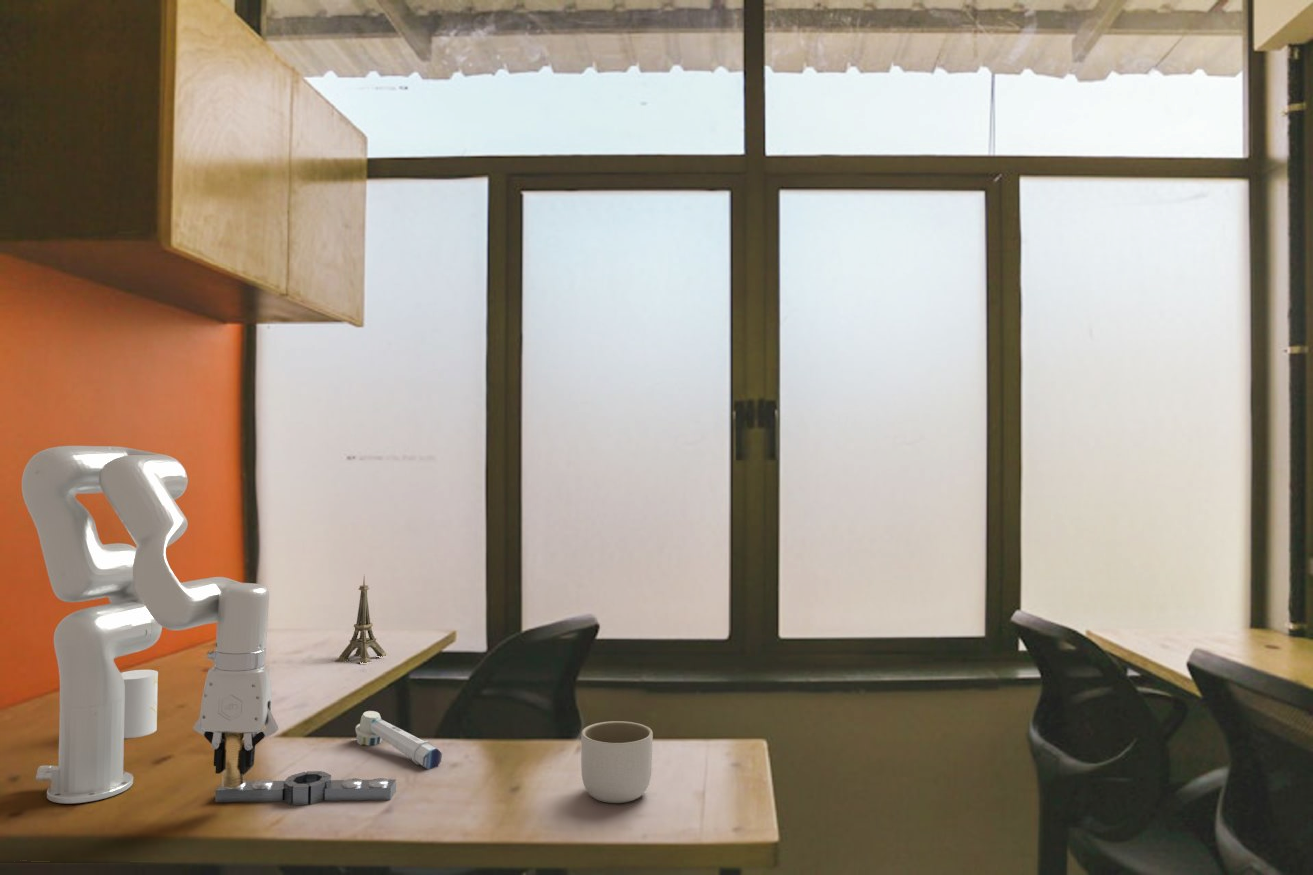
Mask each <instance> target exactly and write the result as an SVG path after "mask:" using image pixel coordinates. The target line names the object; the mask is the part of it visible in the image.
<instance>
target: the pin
mask: <svg viewBox="0 0 1313 875" xmlns="http://www.w3.org/2000/svg"><path fill="white" fill-rule="evenodd" d="M243 749H244V733H227V732H225V743H224V759H223V771H222V775H221V776H222V778H221V779H222V780H221V785H222V786H223V787H227V788H232V787H238V786H240V785H242V784H243V781H244V779H245V774H240V757H241V751H242V750H243Z"/></svg>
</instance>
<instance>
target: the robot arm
mask: <svg viewBox="0 0 1313 875" xmlns="http://www.w3.org/2000/svg"><path fill="white" fill-rule="evenodd" d="M187 474H188V473H187V471H186V469H185V467H184V466H183V465H182V463H181V462H180V461H179V460H177V459H176V458H175V457H172V456H170V455H167V454H161V453H157V452H151V451H145V450H141V449H137V448H136V449H135V448H131V447H124V446H111V445H108V446H107V445H106V446H103V445H102V446H101V445H98V446H97V445H94V446H93V445H64V446H63V445H61V446H54V447H49V448H46V449H43V450H41V451H39V452H37V453H35V454H34V455H32V456H31V458H30V459H29V460H28V462H27V464H26V466H25V467H24V470H23V473H22V477H21V493H22V496H23V501H24V504H25V506H26V509H27V511H28V513H29V514H30V517H31V520H32V522H33V523H34V526H35V529H36V531H37V535H38V538H39V542H40V548H41V552H42V556H43V560H44V563H45V567H46V570H47V575H48V579H49V582H50V583H49V584H50V586H51V589H52V591H53V593H54V595H55V597H56V598H57V599H59V600H60V601H63V602H65V603H80V602H87V601H93V600H100V599H104V598H108V601H109V603H106V604H100V605H96V606H91V607H86V608H83V609H79V610H76V611H73V612H72V613H70V614H68V615H67V616H65V617H64V618H62V619H61V621H60V622H59V623H58V624H57V626H56V628H55V631H54V633H53V646H54V653H55V656H56V661H57V666H58V675H59V721H58V722H59V730H58V731H59V732H58V736H59V737H58V765H40V766H39V767H38V768H37V770H36V775H35V780H36V782H46V781H49V782H51V785H50V786H49V787H48V788H47V789H46V798H47V800H49V801H50V802H53V803H57V804H82V803H89V802H95V801H99V800H103V799H104V800H105V799H107V798H111V797H113V796H116V795H118V794H119V795H120V794H121V793H123V792H125V791H127V790H128V789H129V788H131V786H132V785H133V784H134V776H133V774H132V773H130V772H127V771H124V749H125V748H124V747H125V745H124V744H125V738H124V707H125V685H124V680H123V677H122V675H121V673H122V672H120V670H119V668H118V667H117V665H116V663H115V659H117V658H119V657H123V656H127V655H130V654H134V653H139V652H141V651H144V650H147V649H149V648H151V647H153V646H154V645H155V644H156V643H157V642H158V640H159V639H160V637H161V635H162V631H163V628H165V629H166V630H170V631H174V632H175V631H177V632H178V631H185V630H188V629H192V628H196V627H199V626H203V625H210V624H215V623H216V624H217V625H216V635H215V636H216V637H215V638H216V640H215V649H214V650H213V651H210V650H209V651H208V652H207V653H206V660H211V661H213V666H212V667H210V668H208V671H207V675H206V678H205V683H204V686H203V692H202V698H201V702H200V703H201V704H200V709H199V710H200V711H199V717H198V719H197V720H196V722H195V723H194V725H193V727H192V729H193V730H194V731H195V732H197V733H198V734H200V735H202V736H203V737H204V738H205V739H206V740H207V741H208V742H209V743H210V744H211V748H212V749H213V750H214V751H213V753H214V754H213V766H214V767H215V770H214V771H215V774H221V773H223V759H224V743H225V732H227V733H244V749H243V750H242V751H241V757H240V774H244V775H246V774H247V773H248V772H249V771H250V770H251V769H252V768H253V766H254V764H255V755H256V746H257V744H259V743H260V742H261V741H262V740H264V739H265V738H269V737H270V736H272V735H273V734H275V733H276V732H278V731H279V726H278V724H277V722H276V719H275V718H274V715H273V714H272V713H273V712H272V711H273V707H272V705H273V697H272V680H271V674H270V670H269V665H266V654H267V652H266V651H267V635H268V623H269V622H268V621H269V618H268V617H269V606H270V605H269V603H270V602H269V601H270V592H269V589H268V588H267V587H266V586H265V585H263V584H260V583H251V582H240V581H237V580H235V579H231V578H229V577H224V576H216V577H215V576H213V577H207V578H200V579H195V580H188V581H183V582H180V580H179V579H178V577H177V576H176V575H175V573H174V571H173V569H171V567H170V564H169V562H168V559H167V553H166V552H167V548H168V547H169V546H172V544H174V543H175V542H176V541H178V539H180V538H181V537H182V536H183V535H184V533H185V532H186V531H187V528H188V525H189V524H188V519H187V517H186V516H185V514H184V513H183V511H182V510H181V509H180V507H179V505H178V504H177V503H176V501H175V500H178V499H179V498H180V497H181V496H183V494H185V492H186V489H187V487H188V482H189V479H188V475H187ZM79 494H80V495H81V494H82V495H83V494H84V495H85V494H104V495H105V498H106V499H107V500H108V503H109V504H110V505H111V507H112V509H113V511H114V512H115V513H116V515H117V516H118V518H119V520H120V522H121V523H122V525H123V526H124V527H125V529H126V530H127V532H128V534H129V536H130V537H131V539H132V540H133V543H135V546H136V547H135V546H133V545H131V544H128V543H121V542H117V543H116V542H115V543H107V544H106V543H105V544H103V543H102V541H101V540H100V537H99V533H98V530H97V526H96V522H95V519H94V518H93V516H92V514H91V513H90V512H89V510H88V509H87V508H86V507H85V506H84V505H83V504H82V502H80V501H79V500H78V499H77V498H76V496H77V495H79ZM264 727H265V728H264ZM263 728H264V729H263Z"/></svg>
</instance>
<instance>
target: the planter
mask: <svg viewBox="0 0 1313 875" xmlns="http://www.w3.org/2000/svg"><path fill="white" fill-rule="evenodd" d="M653 734H654V733H653V729H651V728H650V727H649V726H646V724H645V725H644V724H641V723H639V722H632V721H625V720H624V721H622V720H621V721H618V720H617V721H616V720H615V721H614V720H612V721H611V720H610V721H602V722H597V723H593V724H590V725H588V726H586V727H584V728H582V730H581V734H580V735H581V737H580V738H581V739H580V740H581V742H580V743H581V744H580V749H581V750H580V752H581V755H580V760H581V761H580V763H581V764H580V765H581V766H580V767H581V780H582V782H583V786H584V788H585V790H586V792H587V793H588V794H589V795H590V797H592V798H594V799H595V800H597V801H599V802H603V803H607V804H608V803H609V804H622V803H623V804H624V803H629V802H634V801H635V800H637V799H639V798H641V796H642V795H644V793H645V792H646V791H647V789H648V788H649V785H650V781H651V779H652V778H651V777H652V769H653V768H652V767H653V742H654V741H653V739H654V738H653V737H654V736H653Z"/></svg>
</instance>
